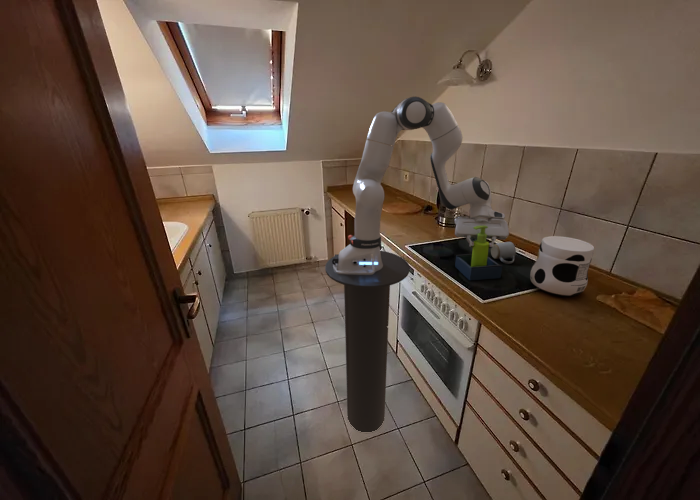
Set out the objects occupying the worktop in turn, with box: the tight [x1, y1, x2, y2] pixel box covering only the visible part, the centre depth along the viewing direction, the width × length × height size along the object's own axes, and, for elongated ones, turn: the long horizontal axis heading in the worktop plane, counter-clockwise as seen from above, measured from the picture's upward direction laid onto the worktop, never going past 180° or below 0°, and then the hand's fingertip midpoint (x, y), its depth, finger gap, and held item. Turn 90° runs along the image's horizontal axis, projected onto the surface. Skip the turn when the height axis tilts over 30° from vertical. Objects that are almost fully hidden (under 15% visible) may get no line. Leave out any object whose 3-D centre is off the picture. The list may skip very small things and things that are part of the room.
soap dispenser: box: [471, 225, 490, 267], centre depth 120 cm, size 6×7×20 cm
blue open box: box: [454, 253, 503, 281], centre depth 123 cm, size 13×13×6 cm
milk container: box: [529, 235, 595, 297], centre depth 107 cm, size 17×17×18 cm
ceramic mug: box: [490, 241, 517, 265], centre depth 134 cm, size 11×8×8 cm
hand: (481, 247), depth 119 cm, fingers closed on soap dispenser, 6 cm apart
